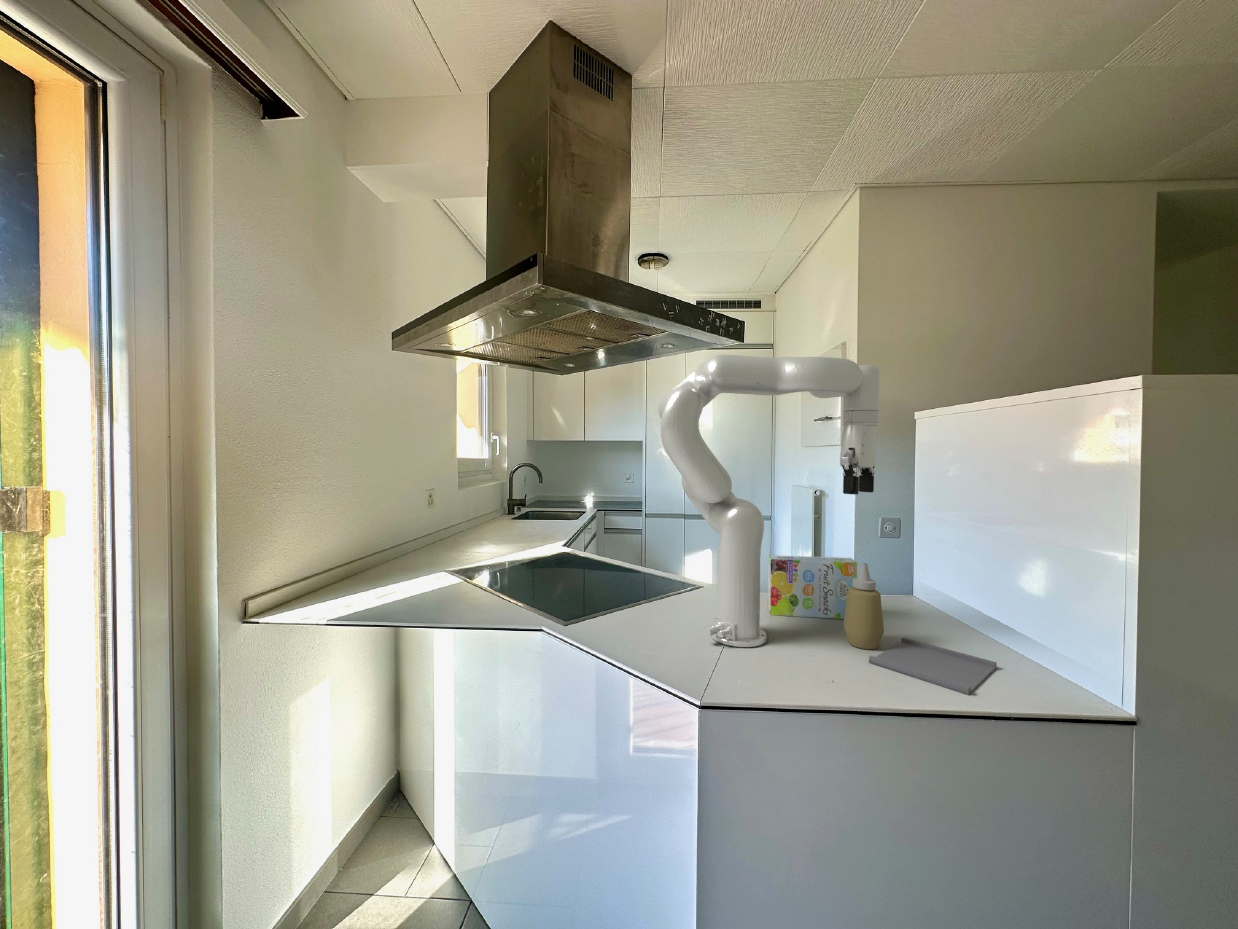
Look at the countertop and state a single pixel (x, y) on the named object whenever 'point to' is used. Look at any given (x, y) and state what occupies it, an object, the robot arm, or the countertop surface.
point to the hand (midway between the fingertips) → (858, 493)
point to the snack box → (809, 585)
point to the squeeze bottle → (863, 612)
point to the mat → (935, 665)
